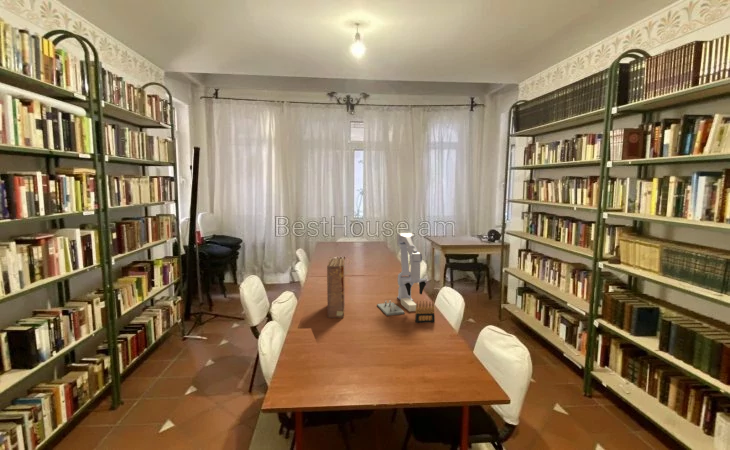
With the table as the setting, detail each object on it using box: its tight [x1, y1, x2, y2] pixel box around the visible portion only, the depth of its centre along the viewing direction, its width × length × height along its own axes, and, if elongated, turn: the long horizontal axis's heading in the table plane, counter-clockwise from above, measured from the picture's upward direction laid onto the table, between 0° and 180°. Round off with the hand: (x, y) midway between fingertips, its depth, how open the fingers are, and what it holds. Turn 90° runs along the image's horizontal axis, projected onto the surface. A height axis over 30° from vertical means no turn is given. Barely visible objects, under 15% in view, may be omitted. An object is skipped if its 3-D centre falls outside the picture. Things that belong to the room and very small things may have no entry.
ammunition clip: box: [414, 300, 436, 324], centre depth 210 cm, size 11×2×12 cm, turn 94°
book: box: [326, 257, 346, 319], centre depth 227 cm, size 25×9×30 cm, turn 2°
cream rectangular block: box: [400, 298, 417, 312], centre depth 234 cm, size 14×5×4 cm, turn 16°
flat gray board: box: [376, 299, 405, 316], centre depth 230 cm, size 18×11×4 cm, turn 16°
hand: (414, 294), depth 229 cm, fingers open, 7 cm apart
